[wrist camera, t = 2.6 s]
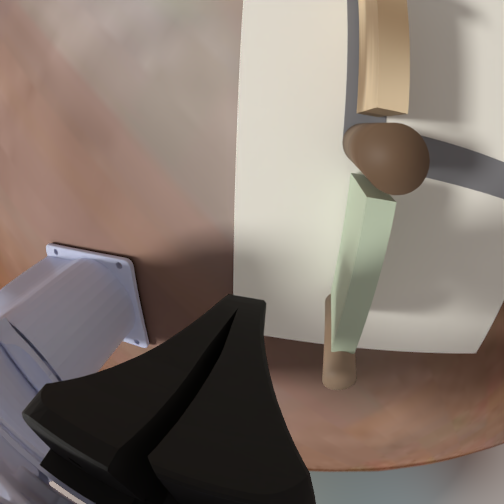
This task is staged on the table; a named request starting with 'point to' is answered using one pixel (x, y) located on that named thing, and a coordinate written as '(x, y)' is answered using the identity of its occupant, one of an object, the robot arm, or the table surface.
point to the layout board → (340, 168)
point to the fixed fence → (385, 102)
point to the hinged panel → (355, 278)
